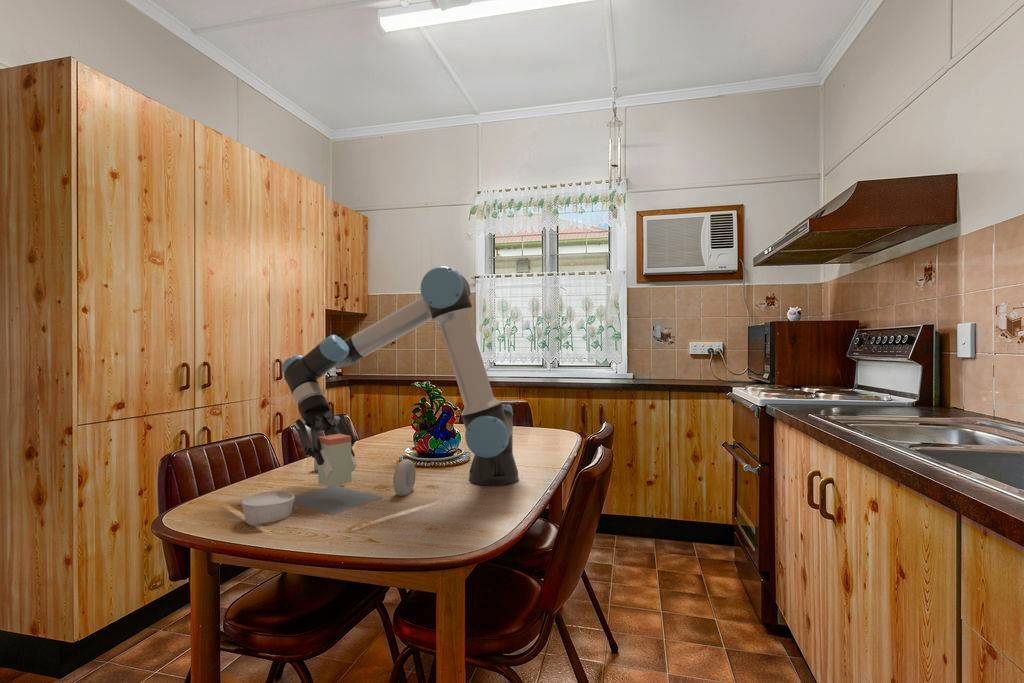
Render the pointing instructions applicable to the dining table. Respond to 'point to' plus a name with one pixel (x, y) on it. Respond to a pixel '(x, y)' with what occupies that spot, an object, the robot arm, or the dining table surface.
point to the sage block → (336, 459)
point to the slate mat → (333, 499)
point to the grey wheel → (404, 477)
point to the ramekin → (267, 507)
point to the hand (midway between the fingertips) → (342, 471)
